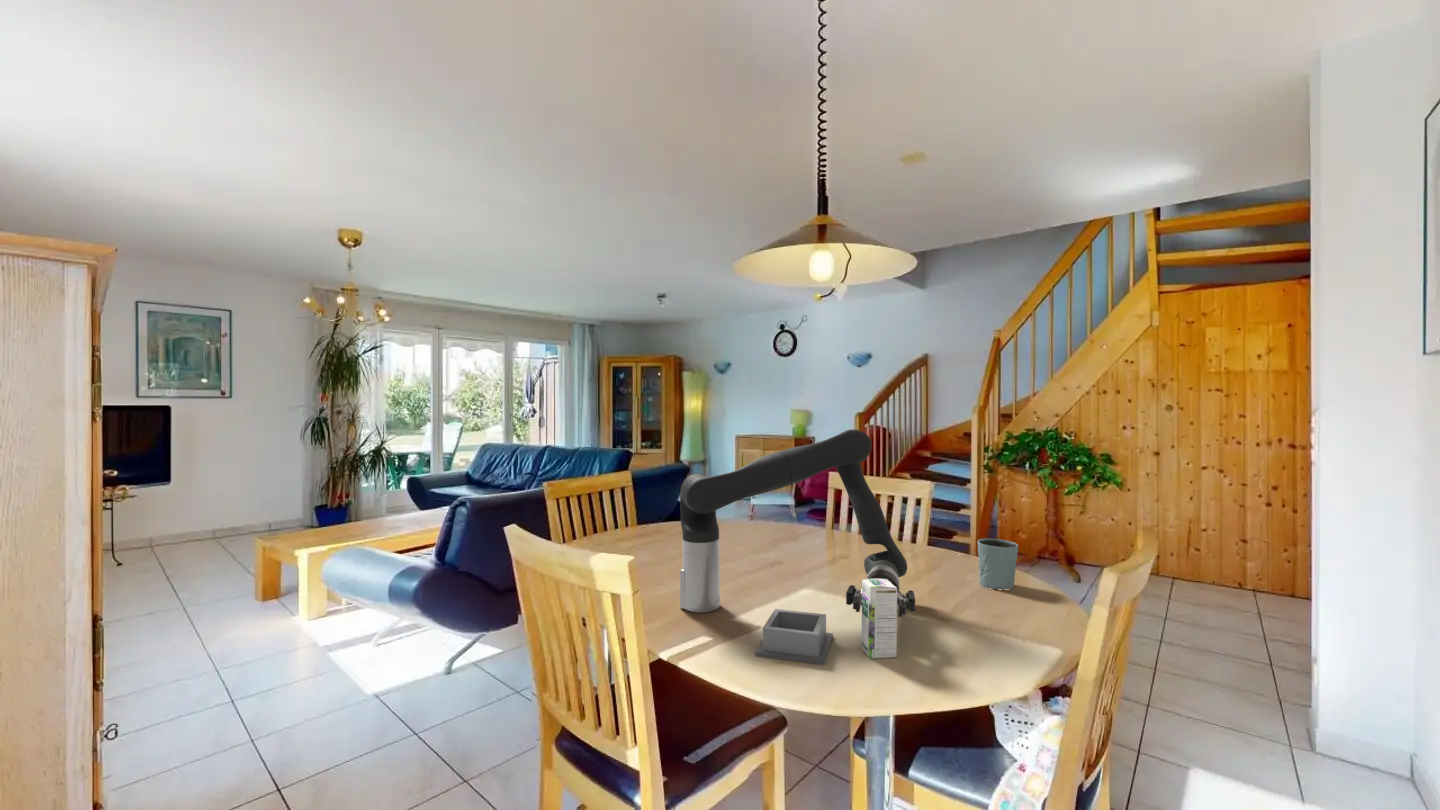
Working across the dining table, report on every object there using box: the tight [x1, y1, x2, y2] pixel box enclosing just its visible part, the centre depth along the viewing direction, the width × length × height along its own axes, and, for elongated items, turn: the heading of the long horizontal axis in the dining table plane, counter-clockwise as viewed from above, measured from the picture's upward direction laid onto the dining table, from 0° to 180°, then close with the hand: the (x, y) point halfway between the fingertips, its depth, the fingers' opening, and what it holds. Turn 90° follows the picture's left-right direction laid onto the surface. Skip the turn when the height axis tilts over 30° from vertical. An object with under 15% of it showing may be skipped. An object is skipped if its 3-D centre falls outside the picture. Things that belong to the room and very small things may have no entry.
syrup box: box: [861, 578, 898, 660], centre depth 120 cm, size 6×6×14 cm
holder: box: [754, 608, 834, 666], centre depth 124 cm, size 14×14×5 cm
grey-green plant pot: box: [977, 538, 1019, 590], centre depth 162 cm, size 10×10×12 cm
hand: (878, 609), depth 120 cm, fingers open, 8 cm apart
